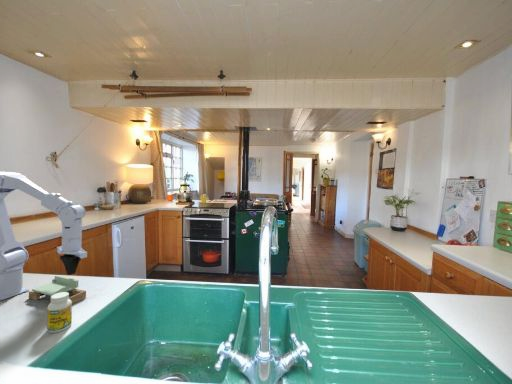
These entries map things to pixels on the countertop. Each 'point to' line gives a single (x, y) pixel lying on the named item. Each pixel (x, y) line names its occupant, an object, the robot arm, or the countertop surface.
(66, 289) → the cover
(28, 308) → the countertop surface
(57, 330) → the supplement bottle
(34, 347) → the countertop surface
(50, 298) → the gray rectangular block
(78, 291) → the brown wooden frame
